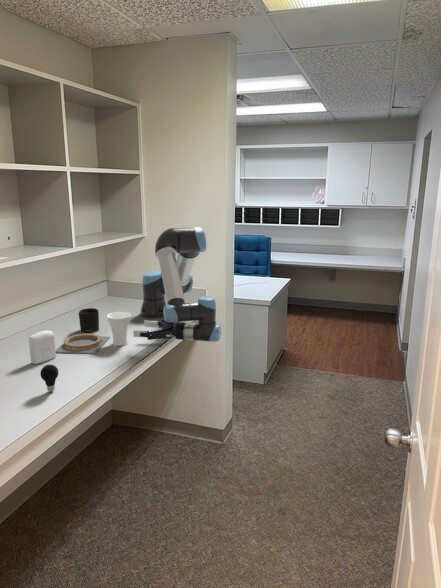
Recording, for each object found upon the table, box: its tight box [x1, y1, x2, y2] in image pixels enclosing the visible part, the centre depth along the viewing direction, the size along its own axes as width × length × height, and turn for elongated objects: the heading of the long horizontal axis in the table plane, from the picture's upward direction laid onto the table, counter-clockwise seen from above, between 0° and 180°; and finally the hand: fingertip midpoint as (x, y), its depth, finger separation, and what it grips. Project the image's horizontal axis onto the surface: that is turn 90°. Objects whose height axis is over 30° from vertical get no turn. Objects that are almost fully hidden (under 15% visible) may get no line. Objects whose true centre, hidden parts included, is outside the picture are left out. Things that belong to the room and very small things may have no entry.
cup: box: [106, 311, 132, 347], centre depth 200 cm, size 10×10×14 cm
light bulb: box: [40, 364, 60, 393], centre depth 155 cm, size 6×6×10 cm
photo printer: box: [28, 330, 57, 365], centre depth 182 cm, size 10×4×12 cm, turn 144°
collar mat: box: [55, 335, 111, 355], centre depth 200 cm, size 20×18×1 cm
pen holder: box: [78, 307, 100, 334], centre depth 218 cm, size 9×9×10 cm
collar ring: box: [63, 333, 102, 351], centre depth 200 cm, size 16×16×2 cm
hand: (139, 328), depth 198 cm, fingers open, 13 cm apart
